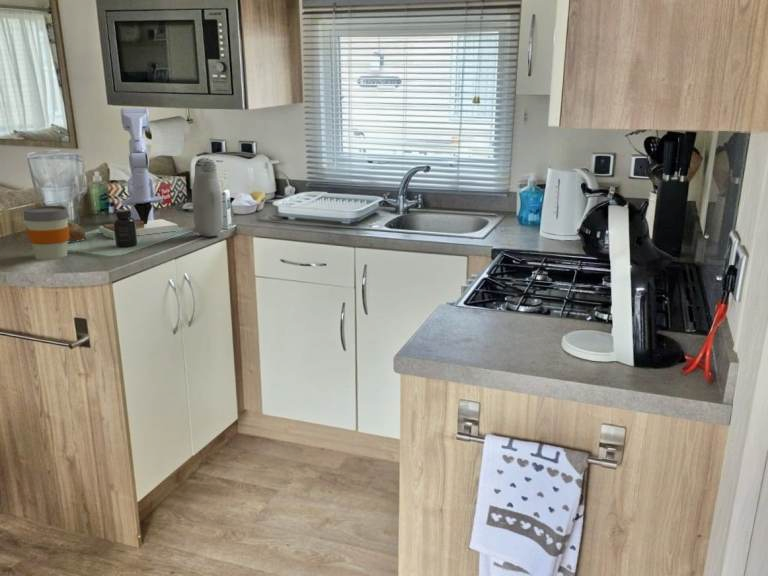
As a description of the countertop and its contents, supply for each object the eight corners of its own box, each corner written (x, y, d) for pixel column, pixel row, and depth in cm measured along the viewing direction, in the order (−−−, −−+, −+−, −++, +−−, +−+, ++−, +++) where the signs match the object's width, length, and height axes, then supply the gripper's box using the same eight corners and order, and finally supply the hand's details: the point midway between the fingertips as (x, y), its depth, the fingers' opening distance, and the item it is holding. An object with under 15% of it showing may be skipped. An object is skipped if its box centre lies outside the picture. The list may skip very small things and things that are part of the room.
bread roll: (86, 251, 234) (94, 229, 234) (58, 242, 226) (65, 220, 227) (74, 246, 240) (81, 225, 241) (46, 238, 233) (53, 216, 233)
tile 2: (127, 227, 243) (126, 220, 242) (139, 226, 246) (138, 219, 245) (132, 229, 240) (131, 222, 239) (144, 228, 243) (143, 221, 242)
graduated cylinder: (228, 229, 255) (226, 191, 251) (213, 229, 255) (210, 191, 251) (232, 226, 260) (230, 189, 256) (217, 226, 260) (214, 189, 256)
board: (124, 230, 251) (123, 223, 251) (162, 225, 261) (162, 219, 260) (138, 236, 241) (137, 229, 240) (178, 231, 251) (177, 224, 250)
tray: (99, 232, 246) (98, 226, 245) (124, 230, 251) (123, 223, 251) (113, 239, 236) (112, 232, 235) (138, 236, 241) (137, 229, 240)
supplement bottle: (141, 244, 228) (138, 209, 225) (128, 248, 222) (124, 212, 219) (125, 242, 231) (121, 208, 227) (111, 246, 224) (107, 211, 221)
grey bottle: (189, 236, 242) (184, 157, 234) (213, 232, 249) (209, 156, 242) (205, 240, 236) (200, 159, 228) (229, 236, 243) (225, 158, 235)
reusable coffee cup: (33, 252, 215) (27, 206, 210) (76, 250, 218) (70, 205, 214) (25, 262, 203) (18, 213, 199) (70, 260, 206) (64, 211, 202)
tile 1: (115, 223, 247) (116, 230, 248) (103, 224, 245) (103, 231, 245) (120, 225, 244) (120, 232, 245) (107, 226, 241) (108, 233, 242)
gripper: (125, 189, 233) (128, 227, 237) (165, 186, 243) (168, 223, 246) (117, 187, 238) (121, 224, 242) (157, 184, 248) (160, 220, 251)
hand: (144, 223), depth 245 cm, fingers closed
